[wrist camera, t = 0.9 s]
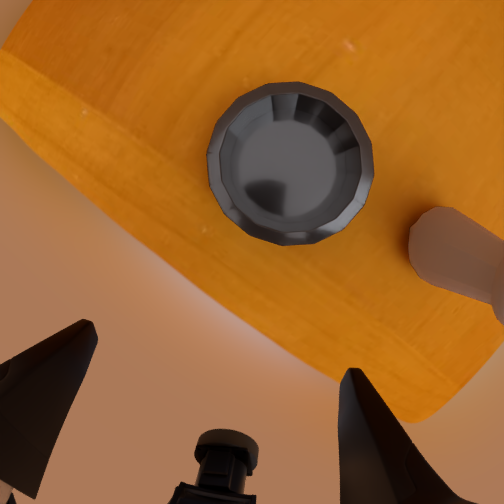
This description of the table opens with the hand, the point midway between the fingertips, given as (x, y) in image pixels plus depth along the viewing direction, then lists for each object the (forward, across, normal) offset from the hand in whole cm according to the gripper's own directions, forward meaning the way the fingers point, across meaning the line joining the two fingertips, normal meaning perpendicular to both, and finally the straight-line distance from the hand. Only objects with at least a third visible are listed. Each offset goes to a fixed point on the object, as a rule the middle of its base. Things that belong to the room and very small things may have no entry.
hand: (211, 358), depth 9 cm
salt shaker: (+14, -14, 0) cm, 20 cm away
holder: (+15, -2, -3) cm, 15 cm away
